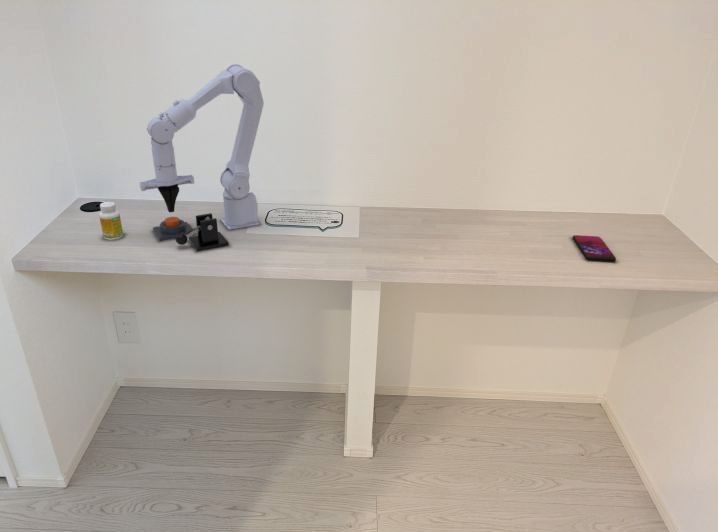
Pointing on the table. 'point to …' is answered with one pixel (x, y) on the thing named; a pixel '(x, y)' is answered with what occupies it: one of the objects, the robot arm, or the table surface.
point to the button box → (171, 230)
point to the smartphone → (594, 248)
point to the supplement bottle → (110, 221)
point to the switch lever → (188, 234)
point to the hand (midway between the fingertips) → (171, 211)
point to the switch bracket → (207, 234)
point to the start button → (172, 221)
